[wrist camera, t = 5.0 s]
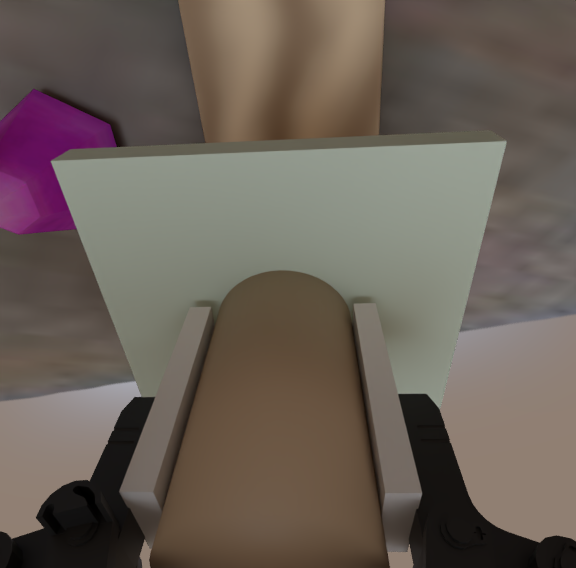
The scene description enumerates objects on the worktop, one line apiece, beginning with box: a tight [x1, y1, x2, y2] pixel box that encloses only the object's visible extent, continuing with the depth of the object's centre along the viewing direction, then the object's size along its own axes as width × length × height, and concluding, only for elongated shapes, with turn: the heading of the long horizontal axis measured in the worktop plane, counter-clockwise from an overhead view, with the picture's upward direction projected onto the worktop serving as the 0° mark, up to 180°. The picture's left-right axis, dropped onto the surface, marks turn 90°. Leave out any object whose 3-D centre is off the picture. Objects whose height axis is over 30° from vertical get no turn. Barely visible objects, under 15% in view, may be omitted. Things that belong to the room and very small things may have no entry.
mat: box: [178, 0, 385, 143], centre depth 29 cm, size 14×14×1 cm
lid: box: [51, 130, 507, 568], centre depth 12 cm, size 13×13×9 cm
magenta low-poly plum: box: [0, 89, 117, 234], centre depth 28 cm, size 11×11×15 cm
